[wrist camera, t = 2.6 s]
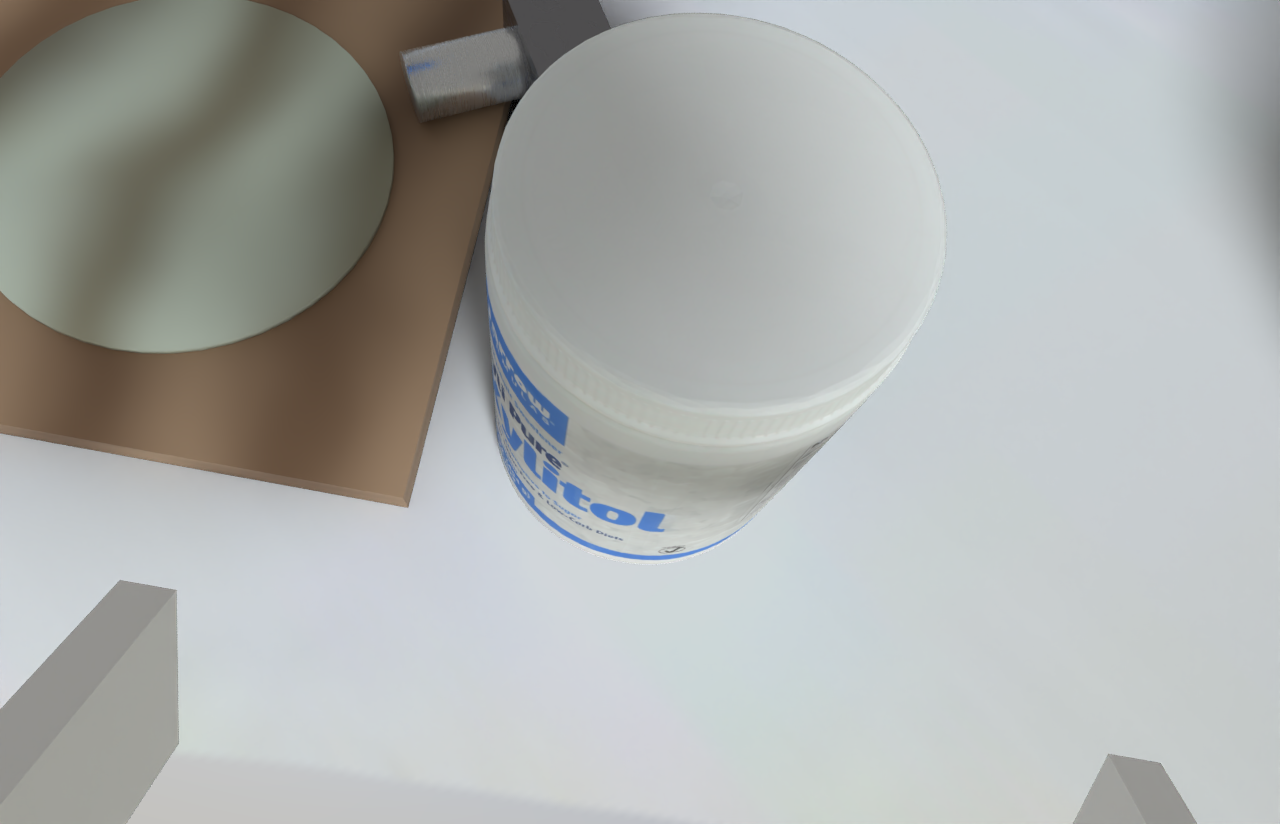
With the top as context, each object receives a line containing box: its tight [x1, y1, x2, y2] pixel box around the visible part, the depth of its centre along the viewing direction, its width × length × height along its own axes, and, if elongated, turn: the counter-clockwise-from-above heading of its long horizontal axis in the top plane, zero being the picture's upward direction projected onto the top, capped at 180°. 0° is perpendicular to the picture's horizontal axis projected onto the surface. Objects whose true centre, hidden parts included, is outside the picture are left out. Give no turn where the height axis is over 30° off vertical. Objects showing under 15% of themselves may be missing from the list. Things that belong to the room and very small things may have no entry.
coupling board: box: [0, 0, 512, 508], centre depth 34 cm, size 20×20×2 cm
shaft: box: [399, 0, 611, 123], centre depth 35 cm, size 7×4×4 cm, turn 111°
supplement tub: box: [485, 13, 947, 565], centre depth 26 cm, size 10×10×15 cm
